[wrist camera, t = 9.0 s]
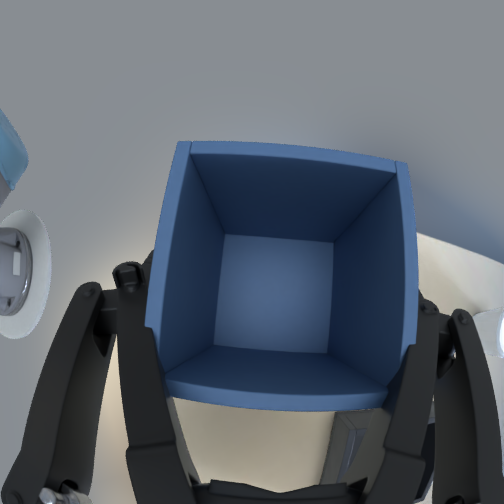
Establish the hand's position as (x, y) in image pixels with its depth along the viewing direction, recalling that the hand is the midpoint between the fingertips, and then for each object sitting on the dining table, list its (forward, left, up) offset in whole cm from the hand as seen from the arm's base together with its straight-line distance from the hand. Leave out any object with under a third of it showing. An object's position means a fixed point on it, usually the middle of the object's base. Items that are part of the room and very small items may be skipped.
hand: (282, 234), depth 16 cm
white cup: (+31, -7, -15) cm, 35 cm away
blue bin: (0, -3, -4) cm, 5 cm away
